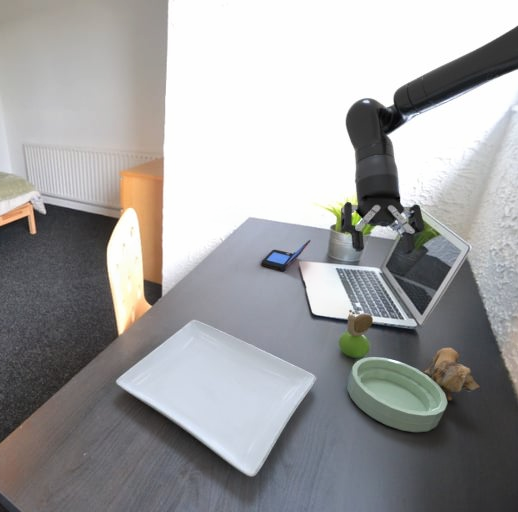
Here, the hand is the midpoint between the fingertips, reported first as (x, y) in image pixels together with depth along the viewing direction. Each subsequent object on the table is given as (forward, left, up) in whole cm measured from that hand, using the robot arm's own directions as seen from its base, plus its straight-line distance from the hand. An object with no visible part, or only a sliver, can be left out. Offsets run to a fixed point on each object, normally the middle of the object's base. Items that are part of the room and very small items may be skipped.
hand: (383, 252), depth 74 cm
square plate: (+31, +23, -22) cm, 45 cm away
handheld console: (+9, -36, -22) cm, 43 cm away
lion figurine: (-10, +13, -22) cm, 27 cm away
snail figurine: (+4, +7, -22) cm, 23 cm away
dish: (0, +19, -21) cm, 29 cm away
